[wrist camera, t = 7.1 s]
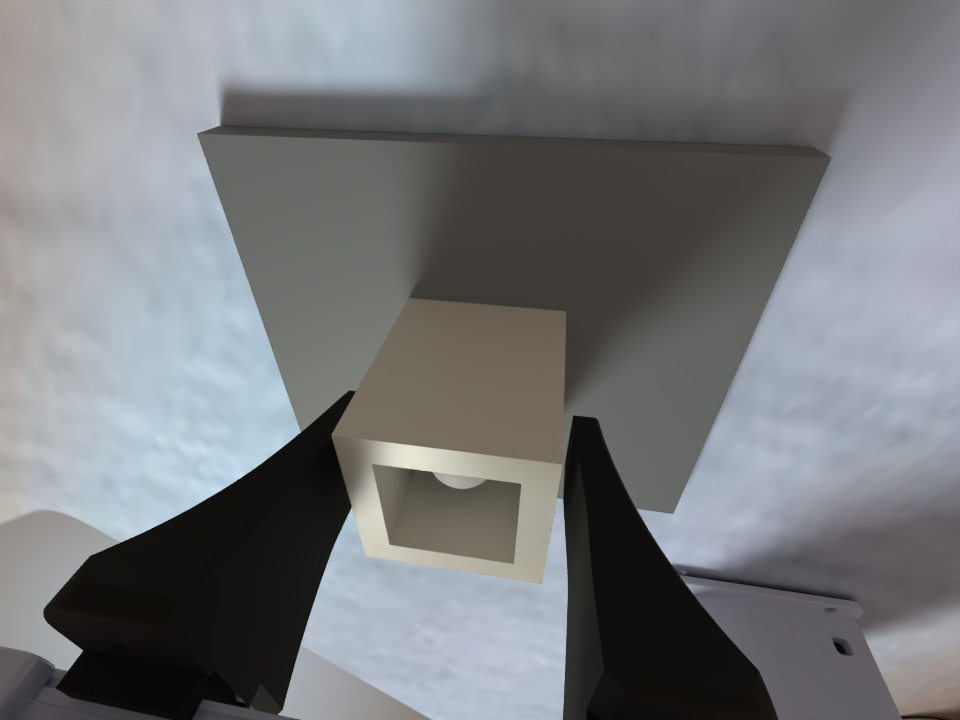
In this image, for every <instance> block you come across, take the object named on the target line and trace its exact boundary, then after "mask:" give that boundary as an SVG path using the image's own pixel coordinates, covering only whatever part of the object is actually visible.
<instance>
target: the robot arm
mask: <svg viewBox="0 0 960 720" xmlns="http://www.w3.org/2000/svg"><path fill="white" fill-rule="evenodd" d="M355 392H356V391H350V390H349V391H348V392H347V393H345V394H344V395H343V396H342V397H341V398H340V399H338V400H337V401H336V402H335V403H334V404H333V405H332V406H331V407H329V408H328V409H327V410H326V411H325V412H324V413H323V414H322V415H320V416H319V417H318V418H317V419H316V420H315V421H314V422H313V423H311V424H310V425H309V426H308V427H307V428H305V429H304V430H303V431H302V432H301V433H300V434H298V435H297V436H296V437H295V438H294V439H293V440H291V441H290V442H289V443H288V444H286V445H285V446H284V447H283V448H281V449H280V450H279V451H277V452H276V453H275V454H274V455H272V456H271V457H270V458H268V459H267V460H266V461H265V462H263V463H262V464H260V465H259V466H258V467H256V468H255V469H253V470H252V471H251V472H249V473H248V474H246V475H245V476H243V477H242V478H240V479H239V480H237V481H236V482H234V483H233V484H231V485H230V486H228V487H226V488H225V489H223V490H221V491H220V492H218V493H216V494H215V495H213V496H211V497H209V498H208V499H206V500H204V501H203V502H201V503H199V504H198V505H196V506H194V507H192V508H191V509H189V510H187V511H185V512H183V513H181V514H179V515H178V516H176V517H174V518H172V519H170V520H168V521H166V522H164V523H162V524H160V525H158V526H156V527H154V528H152V529H150V530H148V531H146V532H144V533H141V534H139V535H137V536H135V537H133V538H130V539H128V540H126V541H124V542H121V543H119V544H117V545H115V546H112V547H110V548H108V549H105V550H103V551H101V552H98V553H96V554H94V555H91V556H90V557H89V558H88V559H87V560H86V561H85V562H84V564H83V565H82V566H81V567H80V568H79V569H78V570H77V571H76V573H75V574H74V575H73V576H72V577H71V578H70V579H69V581H68V582H67V583H66V584H65V585H64V586H63V588H62V589H61V590H60V591H59V592H58V593H57V594H56V595H55V597H54V598H53V599H52V600H51V601H50V602H49V604H48V605H47V606H46V607H45V608H44V612H43V614H44V618H45V620H46V621H47V623H48V624H50V625H51V626H52V627H53V628H54V629H56V630H57V631H58V632H59V633H61V634H62V635H63V636H65V637H66V638H67V639H69V640H70V641H72V642H73V643H74V644H75V645H77V646H78V647H79V648H81V649H82V650H84V651H83V652H82V653H81V655H80V656H79V657H78V659H77V660H76V661H75V663H74V664H73V665H72V666H71V668H70V669H69V670H68V671H66V670H61V669H56V668H55V666H54V665H53V664H52V663H51V662H49V661H48V660H46V659H44V658H42V657H40V656H38V655H35V654H33V653H29V652H26V651H21V650H16V649H11V648H7V647H1V646H0V720H299V719H294V718H290V717H284V716H280V715H278V714H279V713H280V712H281V711H282V710H283V706H284V702H285V698H286V694H287V691H288V687H289V683H290V680H291V676H292V673H293V669H294V665H295V661H296V658H297V655H298V651H299V648H300V645H301V641H302V638H303V635H304V632H305V628H306V625H307V622H308V618H309V615H310V612H311V609H312V606H313V603H314V600H315V597H316V594H317V591H318V588H319V585H320V582H321V579H322V576H323V574H324V571H325V568H326V565H327V562H328V560H329V557H330V554H331V551H332V549H333V547H334V544H335V542H336V539H337V537H338V535H339V533H340V531H341V529H342V526H343V524H344V522H345V520H346V518H347V516H348V514H349V512H350V510H351V507H352V505H351V502H350V498H349V495H348V492H347V488H346V485H345V481H344V478H343V474H342V471H341V467H340V464H339V460H338V457H337V453H336V450H335V446H334V443H333V439H332V436H331V435H332V433H333V431H334V430H335V428H336V426H337V424H338V422H339V421H340V419H341V417H342V415H343V414H344V412H345V410H346V408H347V407H348V405H349V403H350V401H351V399H352V398H353V396H354V394H355ZM563 502H564V520H565V537H566V553H567V570H568V608H567V638H566V665H565V688H564V710H563V720H902V718H901V716H900V714H899V711H898V709H897V707H896V705H895V703H894V701H893V698H892V696H891V694H890V692H889V690H888V688H887V685H886V683H885V681H884V679H883V677H882V675H881V672H880V670H879V668H878V666H877V664H876V662H875V659H874V657H873V655H872V653H871V651H870V649H869V646H868V644H867V642H866V640H865V638H864V636H863V633H862V631H861V629H860V627H859V625H858V623H857V621H856V620H857V619H859V618H860V617H861V616H862V615H863V613H864V611H863V609H862V607H861V605H860V604H859V603H858V602H855V601H849V600H843V599H836V598H829V597H823V596H816V595H809V594H803V593H796V592H789V591H783V590H776V589H770V588H763V587H756V586H750V585H743V584H736V583H730V582H723V581H716V580H710V579H703V578H696V577H690V576H683V575H679V574H678V573H677V572H676V570H675V569H674V568H673V566H672V565H671V563H670V562H669V560H668V559H667V558H666V556H665V555H664V553H663V552H662V550H661V549H660V547H659V546H658V544H657V543H656V541H655V539H654V538H653V536H652V535H651V533H650V532H649V530H648V528H647V527H646V525H645V523H644V521H643V520H642V518H641V516H640V515H639V513H638V511H637V509H636V507H635V505H634V504H633V502H632V500H631V498H630V496H629V494H628V492H627V490H626V488H625V486H624V484H623V482H622V480H621V478H620V476H619V473H618V471H617V469H616V467H615V465H614V462H613V460H612V458H611V455H610V453H609V450H608V448H607V445H606V442H605V440H604V437H603V434H602V431H601V427H600V424H599V421H598V420H597V419H596V418H594V417H585V416H576V415H573V419H572V425H571V431H570V436H569V442H568V448H567V454H566V459H565V470H564V491H563Z"/></svg>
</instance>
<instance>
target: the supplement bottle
mask: <svg viewBox="0 0 960 720" xmlns="http://www.w3.org/2000/svg"><path fill="white" fill-rule="evenodd" d="M902 720H938V719H929V718H907V719H902Z"/></svg>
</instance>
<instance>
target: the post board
mask: <svg viewBox="0 0 960 720" xmlns="http://www.w3.org/2000/svg"><path fill="white" fill-rule="evenodd" d="M197 135H198V138H199V141H200V143H201V146H202V149H203V152H204V155H205V158H206V161H207V164H208V166H209V169H210V172H211V175H212V178H213V181H214V184H215V187H216V189H217V192H218V195H219V198H220V201H221V204H222V207H223V210H224V212H225V215H226V218H227V221H228V224H229V227H230V230H231V232H232V235H233V238H234V241H235V244H236V247H237V250H238V253H239V255H240V258H241V261H242V264H243V267H244V270H245V273H246V276H247V278H248V281H249V284H250V287H251V290H252V293H253V296H254V299H255V301H256V304H257V307H258V310H259V313H260V316H261V319H262V322H263V324H264V327H265V330H266V333H267V336H268V339H269V342H270V344H271V347H272V350H273V353H274V356H275V359H276V362H277V365H278V367H279V370H280V373H281V376H282V379H283V382H284V385H285V388H286V390H287V393H288V396H289V399H290V402H291V405H292V408H293V411H294V413H295V416H296V419H297V422H298V425H299V428H300V431H301V432H302V431H303V430H304V429H305V428H307V427H308V426H309V425H310V424H311V423H313V422H314V421H315V420H316V419H317V418H318V417H319V416H320V415H322V414H323V413H324V412H325V411H326V410H327V409H328V408H329V407H331V406H332V405H333V404H334V403H335V402H336V401H337V400H338V399H340V398H341V397H342V396H343V395H344V394H345V393H347V392H348V391H349V390H350V391H357V389H358V387H359V385H360V383H361V382H362V380H363V378H364V376H365V375H366V373H367V371H368V369H369V367H370V366H371V364H372V362H373V360H374V359H375V357H376V355H377V353H378V351H379V350H380V348H381V346H382V344H383V343H384V341H385V339H386V337H387V335H388V334H389V332H390V330H391V328H392V327H393V325H394V323H395V321H396V319H397V318H398V316H399V314H400V312H401V311H402V309H403V307H404V305H405V303H406V302H407V300H408V298H416V299H427V300H439V301H451V302H463V303H474V304H486V305H498V306H510V307H521V308H533V309H545V310H556V311H566V343H565V387H564V431H563V466H562V472H561V477H560V483H559V489H558V494H557V498H560V499H563V491H564V470H565V459H566V454H567V448H568V442H569V436H570V431H571V425H572V419H573V415H576V416H585V417H594V418H596V419H597V420H598V421H599V424H600V427H601V431H602V434H603V437H604V440H605V442H606V445H607V448H608V450H609V453H610V455H611V458H612V460H613V462H614V465H615V467H616V469H617V471H618V473H619V476H620V478H621V480H622V482H623V484H624V486H625V488H626V490H627V492H628V494H629V496H630V498H631V500H632V502H633V504H634V505H635V507H636V509H642V510H649V511H656V512H664V513H671V514H673V513H674V511H675V509H676V506H677V504H678V502H679V500H680V497H681V495H682V493H683V491H684V488H685V486H686V484H687V482H688V479H689V477H690V475H691V473H692V470H693V468H694V466H695V464H696V461H697V459H698V457H699V455H700V452H701V450H702V448H703V446H704V443H705V441H706V439H707V436H708V434H709V432H710V430H711V427H712V425H713V423H714V421H715V418H716V416H717V414H718V412H719V409H720V407H721V405H722V403H723V400H724V398H725V396H726V394H727V391H728V389H729V387H730V385H731V382H732V380H733V378H734V376H735V373H736V371H737V369H738V367H739V364H740V362H741V360H742V358H743V355H744V353H745V351H746V349H747V346H748V344H749V342H750V340H751V337H752V335H753V333H754V331H755V328H756V326H757V324H758V322H759V319H760V317H761V315H762V313H763V310H764V308H765V306H766V304H767V301H768V299H769V297H770V294H771V292H772V290H773V288H774V285H775V283H776V281H777V279H778V276H779V274H780V272H781V270H782V267H783V265H784V263H785V261H786V258H787V256H788V254H789V252H790V249H791V247H792V245H793V243H794V240H795V238H796V236H797V234H798V231H799V229H800V227H801V225H802V222H803V220H804V218H805V216H806V213H807V211H808V209H809V207H810V204H811V202H812V200H813V198H814V195H815V193H816V191H817V189H818V186H819V184H820V182H821V180H822V177H823V175H824V173H825V171H826V168H827V166H828V164H829V162H830V159H831V157H829V156H828V155H826V154H824V153H822V152H821V151H819V150H817V149H816V148H814V147H796V146H767V145H739V144H711V143H682V142H654V141H626V140H597V139H569V138H541V137H512V136H484V135H456V134H427V133H399V132H371V131H342V130H314V129H286V128H257V127H229V126H218V127H215V128H212V129H209V130H206V131H204V132H201V133H198V134H197ZM433 474H434V475H435V476H436V478H437V479H438V480H440V481H441V482H442V483H444V484H445V485H447V486H450V487H453V488H457V489H467V488H472V487H475V486H478V485H480V484H481V483H483V482H484V481H486V480H487V479H482V478H475V477H467V476H460V475H452V474H445V473H437V472H433Z"/></svg>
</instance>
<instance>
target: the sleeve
mask: <svg viewBox="0 0 960 720" xmlns="http://www.w3.org/2000/svg"><path fill="white" fill-rule="evenodd" d="M565 343H566V311H556V310H545V309H533V308H521V307H510V306H498V305H486V304H474V303H463V302H451V301H439V300H427V299H416V298H408V300H407V302H406V303H405V305H404V307H403V309H402V311H401V312H400V314H399V316H398V318H397V319H396V321H395V323H394V325H393V327H392V328H391V330H390V332H389V334H388V335H387V337H386V339H385V341H384V343H383V344H382V346H381V348H380V350H379V351H378V353H377V355H376V357H375V359H374V360H373V362H372V364H371V366H370V367H369V369H368V371H367V373H366V375H365V376H364V378H363V380H362V382H361V383H360V385H359V387H358V389H357V391H356V392H355V394H354V396H353V398H352V399H351V401H350V403H349V405H348V407H347V408H346V410H345V412H344V414H343V415H342V417H341V419H340V421H339V422H338V424H337V426H336V428H335V430H334V431H333V433H332V435H331V436H332V439H333V443H334V446H335V450H336V453H337V457H338V460H339V464H340V467H341V471H342V474H343V478H344V481H345V485H346V488H347V492H348V495H349V498H350V502H351V505H352V509H353V512H354V516H355V519H356V523H357V526H358V530H359V533H360V537H361V540H362V544H363V547H364V551H365V554H366V556H370V557H376V558H383V559H389V560H395V561H401V562H408V563H414V564H420V565H427V566H433V567H439V568H445V569H452V570H458V571H464V572H470V573H477V574H483V575H489V576H495V577H502V578H508V579H514V580H520V581H527V582H533V583H539V584H542V580H543V575H544V569H545V563H546V557H547V552H548V546H549V540H550V534H551V529H552V523H553V517H554V512H555V506H556V500H557V494H558V489H559V483H560V477H561V472H562V466H563V431H564V387H565ZM433 472H437V473H445V474H452V475H460V476H467V477H475V478H482V479H487V480H486V481H484V482H483V483H481V484H480V485H478V486H475V487H472V488H467V489H457V488H453V487H450V486H447V485H445V484H444V483H442V482H441V481H440V480H438V479H437V478H436V476H435V475H434V474H433Z"/></svg>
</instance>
